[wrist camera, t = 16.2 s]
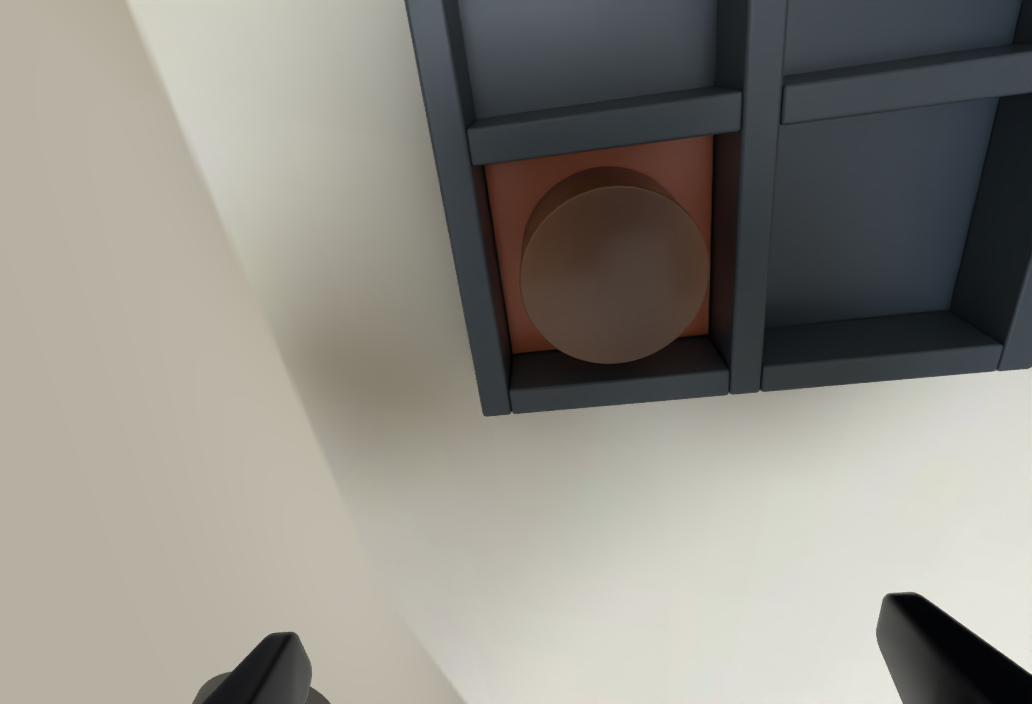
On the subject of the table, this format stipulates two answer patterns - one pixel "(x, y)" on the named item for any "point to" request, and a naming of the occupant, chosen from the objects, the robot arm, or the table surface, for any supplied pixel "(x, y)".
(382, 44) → the table surface
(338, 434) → the table surface
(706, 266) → the cylinder
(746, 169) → the grid
